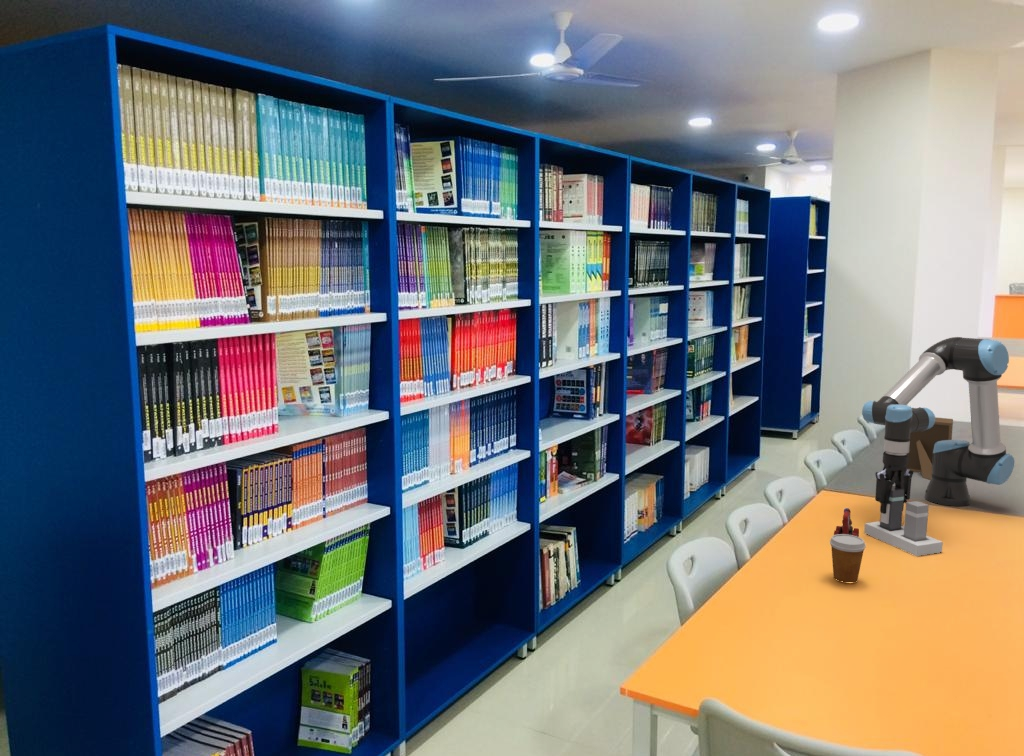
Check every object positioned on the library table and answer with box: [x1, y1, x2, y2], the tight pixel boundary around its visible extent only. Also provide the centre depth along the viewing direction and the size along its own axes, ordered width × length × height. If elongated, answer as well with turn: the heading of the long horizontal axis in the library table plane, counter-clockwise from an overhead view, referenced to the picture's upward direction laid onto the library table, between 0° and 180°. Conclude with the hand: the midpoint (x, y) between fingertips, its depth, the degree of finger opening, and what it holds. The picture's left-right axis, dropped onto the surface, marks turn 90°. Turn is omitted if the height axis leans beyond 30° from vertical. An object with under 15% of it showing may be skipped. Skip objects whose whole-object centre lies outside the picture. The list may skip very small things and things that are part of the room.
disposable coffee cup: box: [829, 534, 867, 583], centre depth 224 cm, size 10×10×12 cm
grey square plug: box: [903, 500, 930, 542], centre depth 248 cm, size 5×5×14 cm
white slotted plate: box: [863, 520, 944, 557], centre depth 254 cm, size 10×22×4 cm, turn 18°
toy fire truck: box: [833, 508, 860, 537], centre depth 255 cm, size 7×12×10 cm, turn 152°
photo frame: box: [906, 416, 954, 481], centre depth 332 cm, size 15×22×25 cm
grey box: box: [879, 485, 904, 531], centre depth 257 cm, size 5×5×14 cm
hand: (890, 521), depth 258 cm, fingers closed on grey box, 4 cm apart
